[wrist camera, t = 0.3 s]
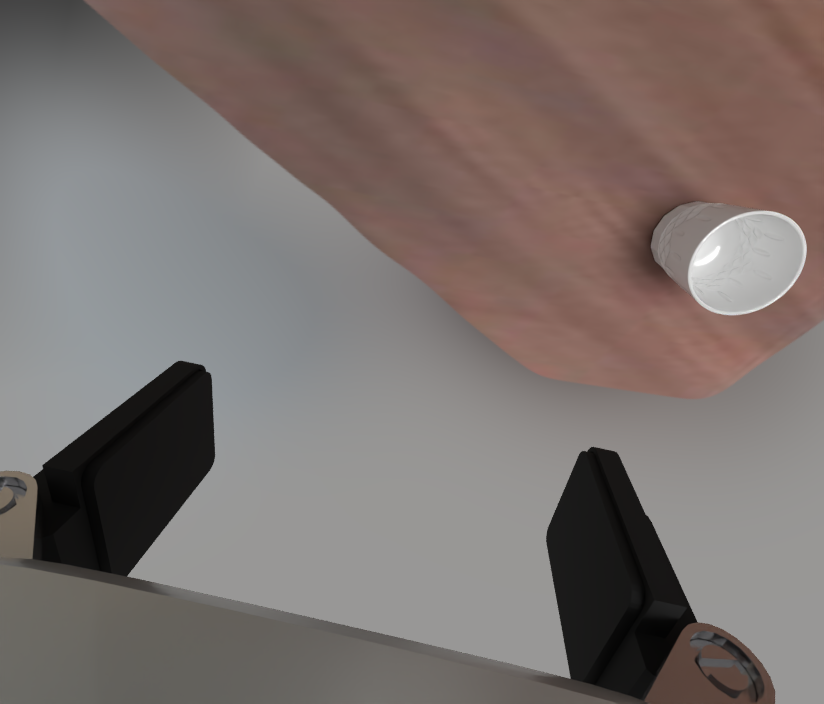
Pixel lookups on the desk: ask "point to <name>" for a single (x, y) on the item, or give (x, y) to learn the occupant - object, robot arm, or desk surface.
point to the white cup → (729, 254)
